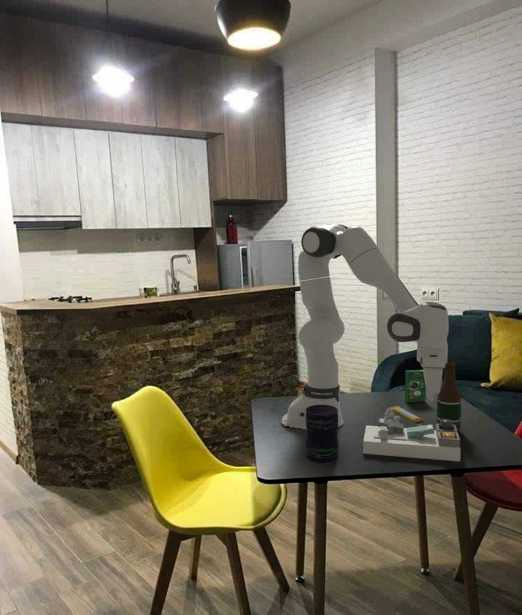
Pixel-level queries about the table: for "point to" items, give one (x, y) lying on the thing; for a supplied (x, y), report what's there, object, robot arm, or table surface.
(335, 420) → the storage jar
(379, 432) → the console
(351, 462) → the table surface
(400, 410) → the candy bar
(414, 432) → the rocker teal
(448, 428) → the button black
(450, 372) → the beer bottle
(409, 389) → the coffee box
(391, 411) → the grey rounded piece
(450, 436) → the button orange
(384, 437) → the slide knob
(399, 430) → the rocker charcoal
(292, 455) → the table surface
